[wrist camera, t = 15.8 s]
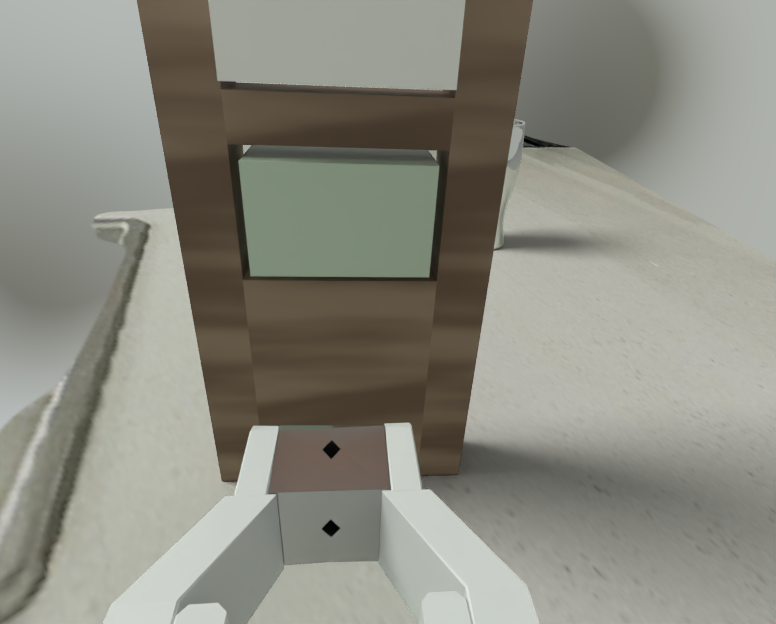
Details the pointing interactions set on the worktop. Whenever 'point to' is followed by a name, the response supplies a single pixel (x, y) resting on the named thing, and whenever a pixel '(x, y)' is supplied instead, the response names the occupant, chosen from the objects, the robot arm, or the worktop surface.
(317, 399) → the key panel
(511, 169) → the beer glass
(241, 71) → the cream key
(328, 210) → the sage key
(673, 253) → the worktop surface
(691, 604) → the worktop surface
